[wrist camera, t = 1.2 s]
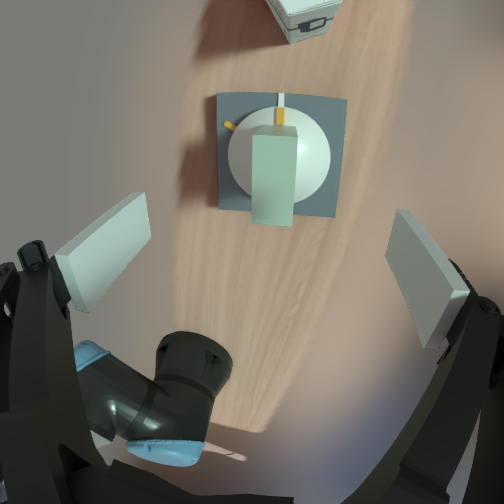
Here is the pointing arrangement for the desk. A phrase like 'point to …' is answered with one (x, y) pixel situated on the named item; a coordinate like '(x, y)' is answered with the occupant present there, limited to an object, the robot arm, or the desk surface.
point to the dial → (278, 161)
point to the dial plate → (316, 107)
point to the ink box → (303, 17)
